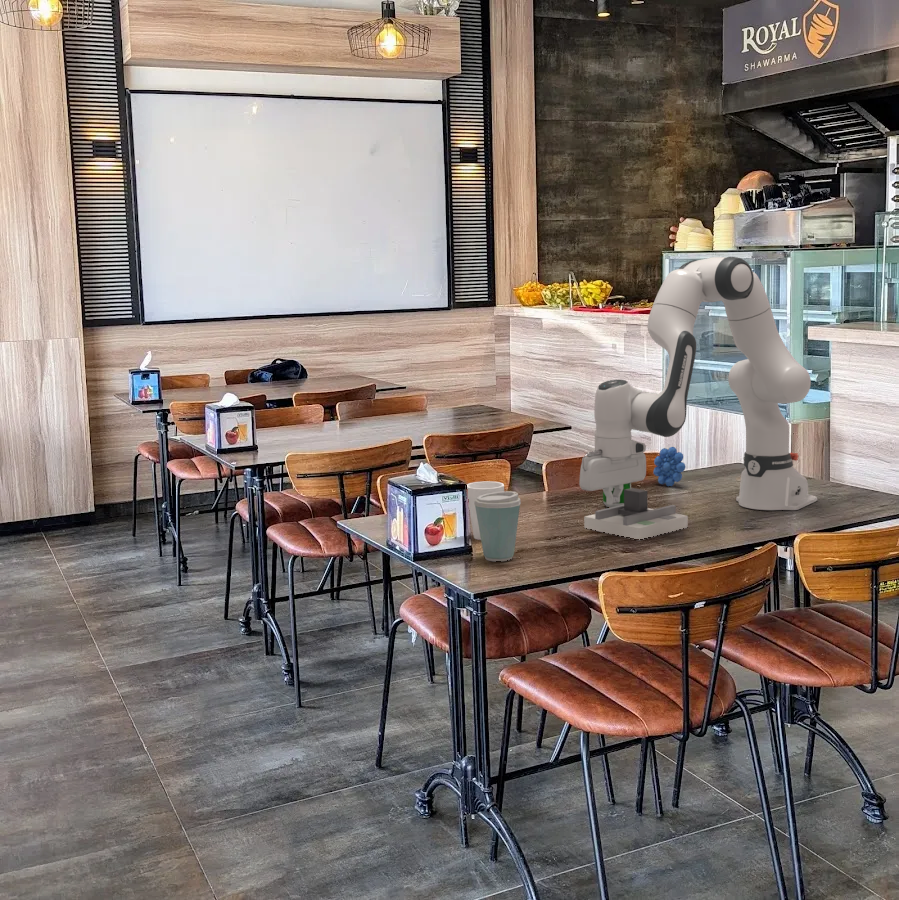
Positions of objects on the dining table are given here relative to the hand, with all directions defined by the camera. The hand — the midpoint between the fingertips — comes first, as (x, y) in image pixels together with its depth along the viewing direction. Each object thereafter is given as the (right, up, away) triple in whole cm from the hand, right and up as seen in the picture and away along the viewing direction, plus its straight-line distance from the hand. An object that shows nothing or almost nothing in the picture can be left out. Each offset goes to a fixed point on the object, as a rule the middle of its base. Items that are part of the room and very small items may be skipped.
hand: (613, 503), depth 271 cm
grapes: (+25, +2, +55) cm, 61 cm away
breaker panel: (+7, -6, +6) cm, 11 cm away
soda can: (+6, -3, +31) cm, 31 cm away
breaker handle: (+6, -3, +6) cm, 9 cm away
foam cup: (-31, -9, +2) cm, 32 cm away
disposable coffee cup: (-29, -12, -18) cm, 36 cm away
